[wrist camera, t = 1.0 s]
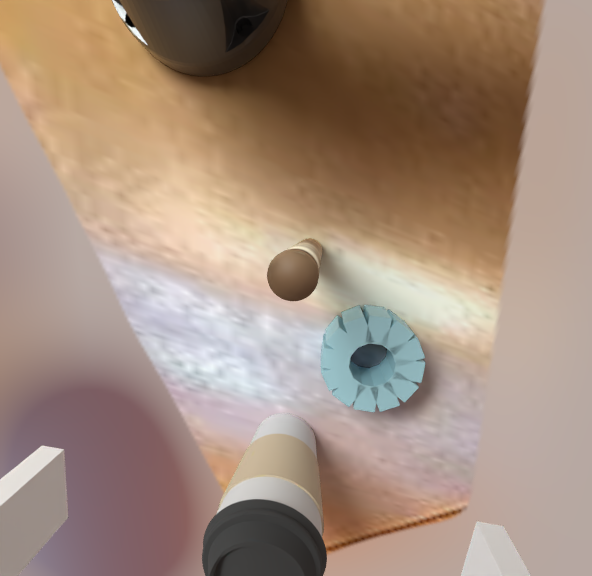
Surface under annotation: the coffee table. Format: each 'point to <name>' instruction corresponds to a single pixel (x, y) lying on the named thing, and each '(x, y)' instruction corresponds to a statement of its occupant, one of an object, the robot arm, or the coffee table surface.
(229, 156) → the coffee table surface
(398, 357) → the bead
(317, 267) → the tan cylindrical rod
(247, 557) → the coffee cup
